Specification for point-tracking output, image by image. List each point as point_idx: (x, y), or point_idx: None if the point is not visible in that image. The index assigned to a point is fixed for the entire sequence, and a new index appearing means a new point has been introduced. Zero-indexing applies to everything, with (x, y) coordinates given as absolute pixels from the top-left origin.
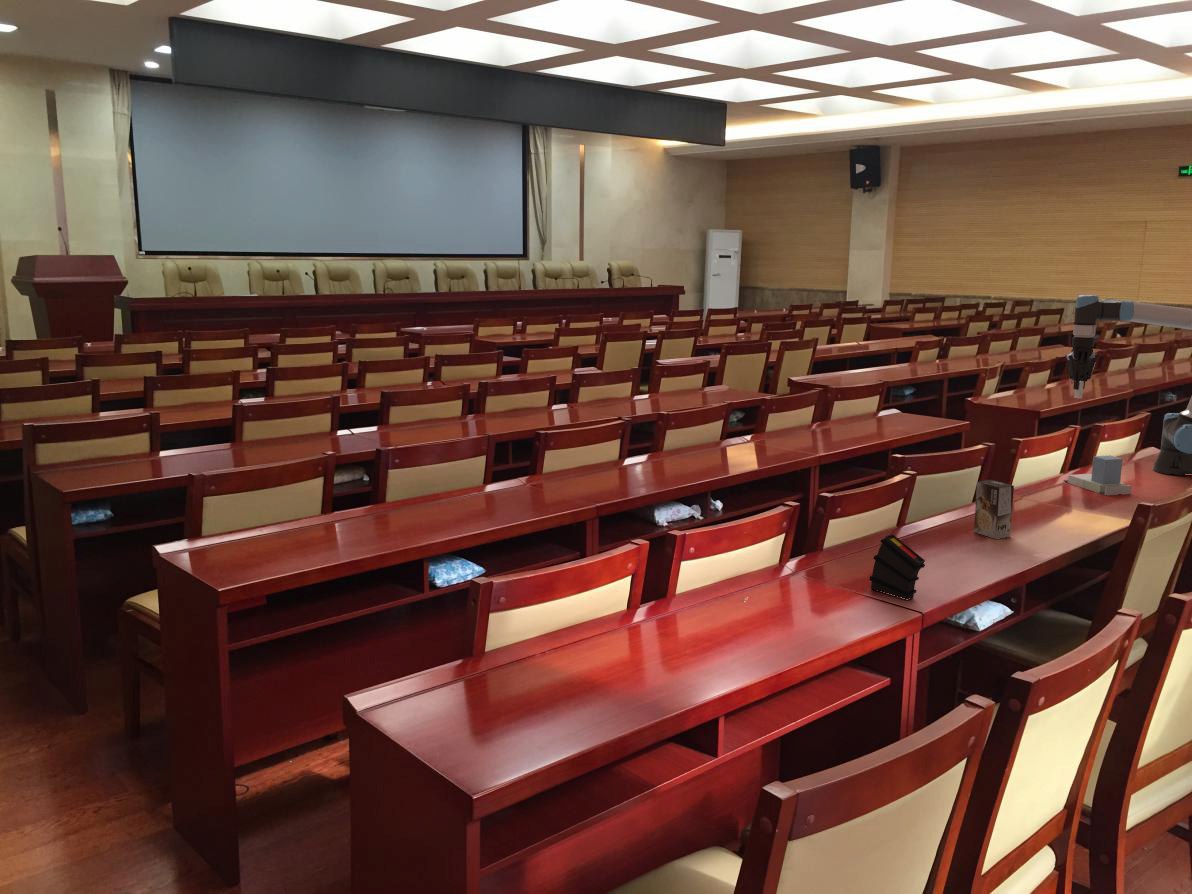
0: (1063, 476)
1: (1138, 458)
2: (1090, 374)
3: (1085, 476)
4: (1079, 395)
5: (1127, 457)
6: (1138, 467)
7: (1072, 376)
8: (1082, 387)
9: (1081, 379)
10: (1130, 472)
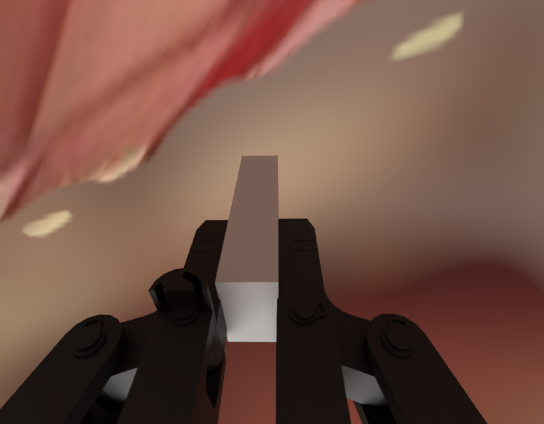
0: (331, 11)
1: (5, 178)
2: (25, 412)
3: None
4: (272, 170)
5: (31, 192)
6: (32, 82)
7: (447, 387)
8: (239, 219)
9: (219, 336)
10: (80, 18)
